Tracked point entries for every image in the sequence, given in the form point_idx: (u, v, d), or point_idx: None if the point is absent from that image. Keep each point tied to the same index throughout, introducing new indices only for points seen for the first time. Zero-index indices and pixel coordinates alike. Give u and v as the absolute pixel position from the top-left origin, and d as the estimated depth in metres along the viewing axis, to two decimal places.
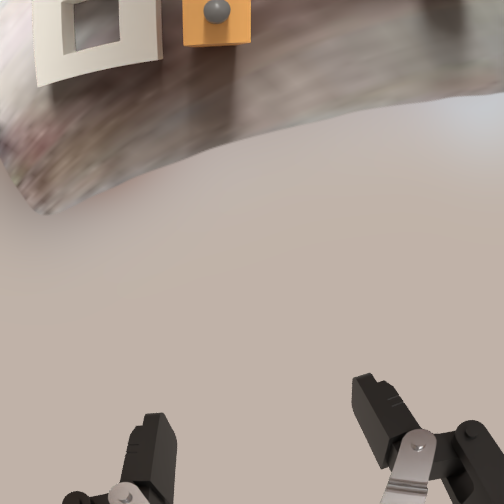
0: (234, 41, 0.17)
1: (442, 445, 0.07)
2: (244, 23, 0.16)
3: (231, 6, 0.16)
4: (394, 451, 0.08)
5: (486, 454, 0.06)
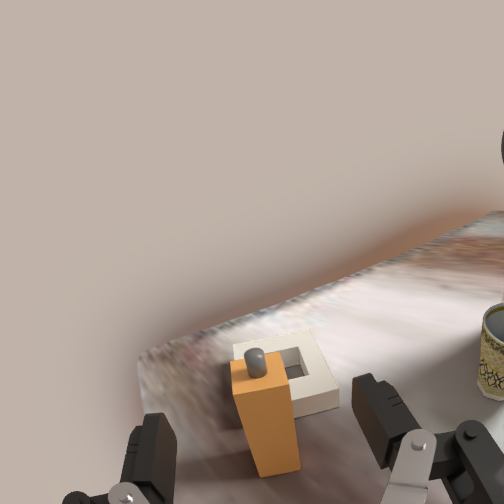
0: (233, 385, 0.23)
1: (442, 445, 0.07)
2: (250, 388, 0.23)
3: (265, 378, 0.24)
4: (394, 451, 0.08)
5: (486, 454, 0.06)
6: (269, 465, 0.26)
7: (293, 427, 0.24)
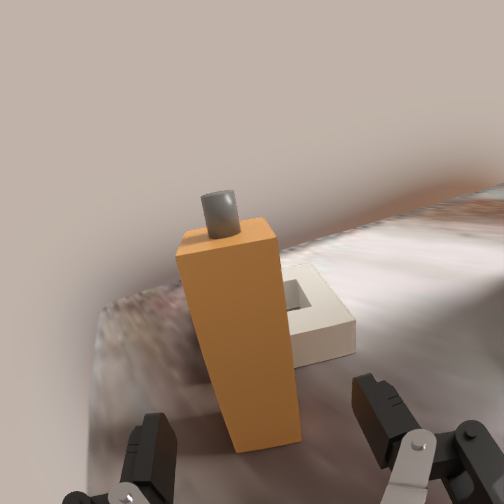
0: (180, 248, 0.14)
1: (442, 445, 0.07)
2: (208, 247, 0.14)
3: (236, 236, 0.15)
4: (394, 451, 0.08)
5: (486, 454, 0.06)
6: (250, 429, 0.17)
7: (288, 347, 0.15)
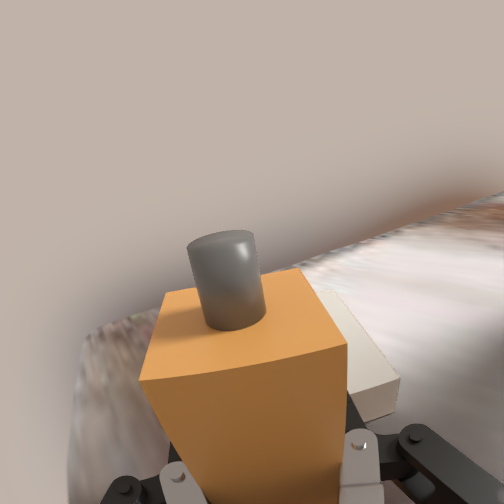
0: (151, 350, 0.07)
1: (386, 447, 0.08)
2: (204, 361, 0.06)
3: (259, 329, 0.07)
4: None
5: (438, 454, 0.07)
6: None
7: (337, 476, 0.08)
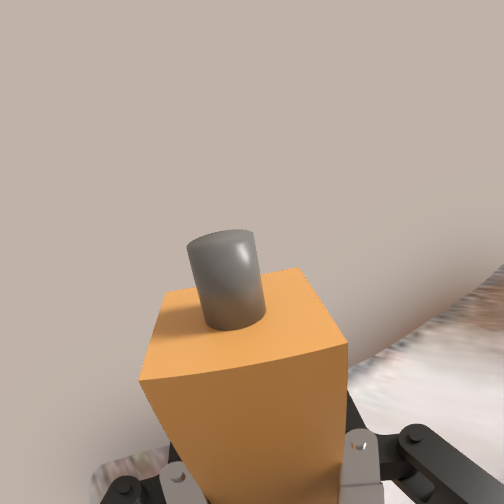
0: (151, 350, 0.07)
1: (386, 447, 0.08)
2: (204, 360, 0.06)
3: (259, 329, 0.07)
4: None
5: (438, 454, 0.07)
6: None
7: (337, 476, 0.08)
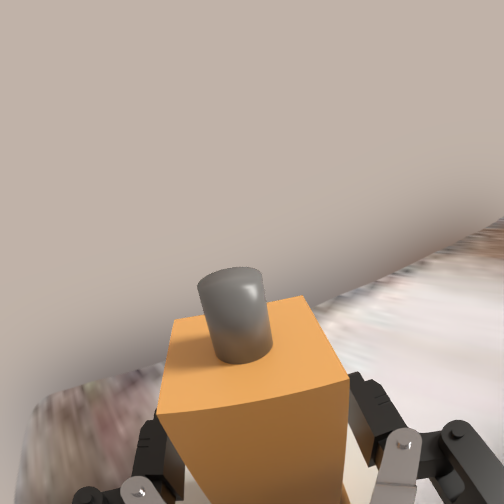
0: (165, 383, 0.07)
1: (428, 444, 0.08)
2: (217, 395, 0.07)
3: (267, 363, 0.07)
4: (380, 449, 0.08)
5: (474, 453, 0.06)
6: None
7: (337, 488, 0.08)
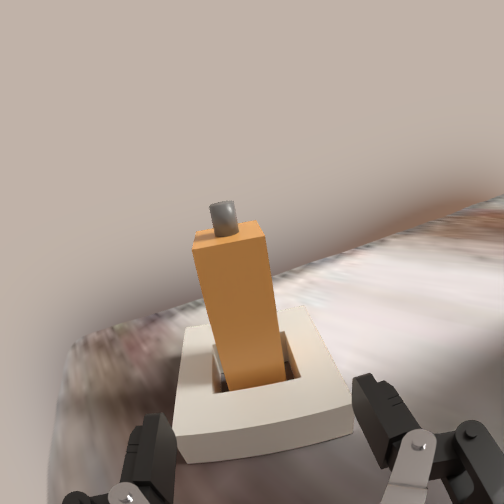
0: (195, 244, 0.20)
1: (442, 445, 0.07)
2: (215, 243, 0.19)
3: (235, 235, 0.20)
4: (394, 451, 0.08)
5: (486, 454, 0.06)
6: None
7: (275, 318, 0.21)
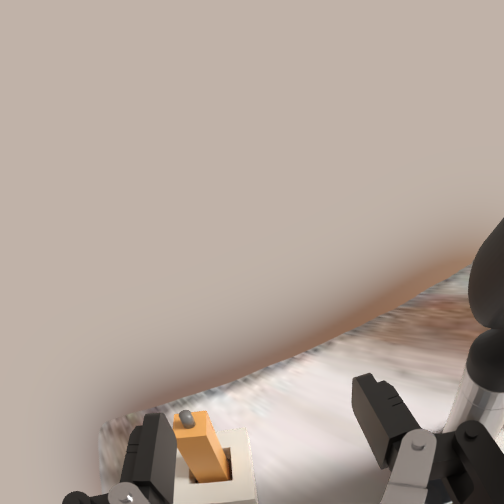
0: None
1: (442, 445, 0.07)
2: (183, 435, 0.33)
3: (193, 429, 0.34)
4: (394, 451, 0.08)
5: (486, 454, 0.06)
6: (207, 481, 0.36)
7: (216, 459, 0.35)
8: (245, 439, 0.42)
